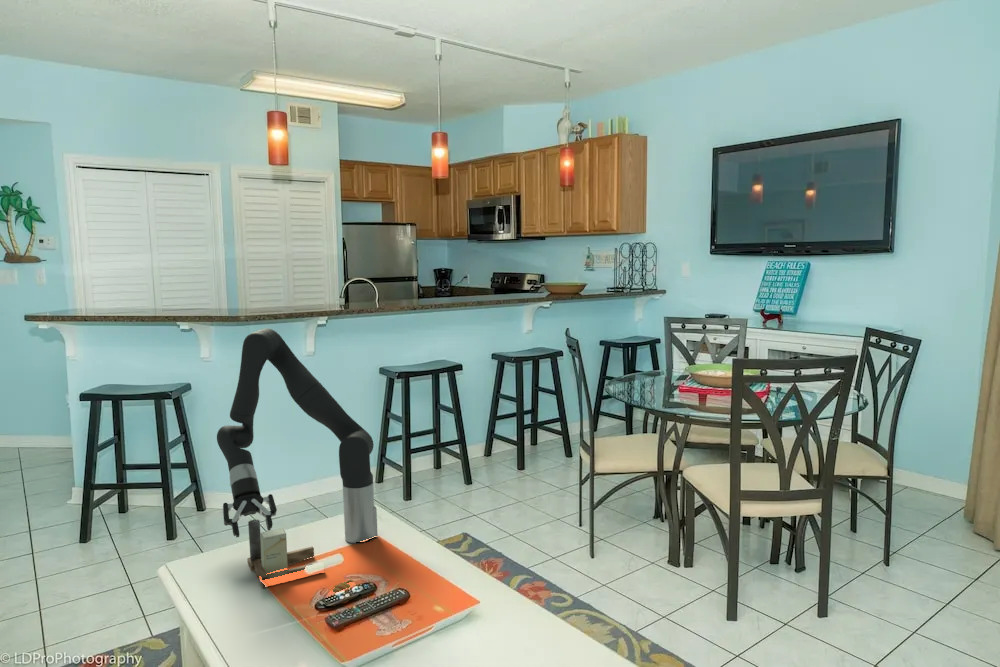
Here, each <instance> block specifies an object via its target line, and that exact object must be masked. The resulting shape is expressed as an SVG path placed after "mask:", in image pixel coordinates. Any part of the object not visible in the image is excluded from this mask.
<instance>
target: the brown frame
mask: <svg viewBox="0 0 1000 667" xmlns="http://www.w3.org/2000/svg"><path fill="white" fill-rule="evenodd" d="M247 524H248V540H249V541H248V542H249V557H247V565H248V567H249V569H250V571H251V572H255V575H256V577H257V576H261V577H262V580H265V579H270V578H274V577H278V576H282V575H285V574H289V573H293V572H297V571H301V570H304V569H305V567H306V565H307V564H305V565H300V566H297V567H294V568H293V567H292V568H288V570H284V571H280V572H275V573H271V574H267V575H266V573H265V571H264V569H263V567H262V561H261V539H260V533H261V521H260V520H259V519H251V520H249V521H248V522H247ZM313 556H314V557H315V547H314V546H308V547H305V548H300V549H296V550H292V551H287V565H290V564H295V563H298V562H297V561H299V562H301V561H300V560H304V559H307V558H310V557H313ZM304 561H305V560H304ZM294 562H295V563H294ZM259 582H260V581H259ZM260 584H261V587H262V589H267V588H266V587H265V585H264V584H263V583H262V582H260Z"/></svg>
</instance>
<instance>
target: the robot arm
mask: <svg viewBox="0 0 1000 667" xmlns="http://www.w3.org/2000/svg"><path fill="white" fill-rule="evenodd" d="M240 361H241V362H240V367H239V368H240V369H239V373H238V374H239V375H238V381H237V384H236V385H237V386H236V390H235V395H234V397H233V401H232V403H231V408H230V411H229V418H230V419H231V420H232V421H233V422H236V423H237V424H241V425H224V426H221V427H220V428H219V429H218V431H217V434H216V442H217V445H218V447H219V449H220V452H222V454H223V456H224V458H225V461H227V462H226V463H227V467H228V473H229V486H230V489H231V493H232V499H233V501H232V503H228V502H224V503H223V505H222V516H223V525H224V526H231V529H232V534H233V537H236V538H240V529H239V524H238V522H239V521H240V519H241V517H242V516H243V517H246V516H249V515H256V514H258V515H260V516H262V517H264V518H265V520H264V521H265V525H266V530H267V531H272V528H273V525H274V524H273V519H272V517H274V516H276V514H277V511H278V510H277V506H276V503H275V499H274V496H273V494H270V493H269V494H268V495H267V496H262V495H261V491H260V484H259V481H258V476H257V472H256V470H255V466H254V462H253V461H254V460H253V457H252V453H251V452H250V451H249V450H247V448H249V447H250V446H251V445H252V443H253V442H254V418H255V413H256V410H257V406H258V403H259V399H260V378H261V373H262V370H263V368H264V366H265V365H266V362H267V361H268V362H270V363H271V364H272V365H273V366H274V368H275V369H276V370H277V371H278V372H279V373H280V375H281V377H282V379H283V381H284V383H285V386H286V389H287V391H288V393H289V395H290V397H291V398H292V400H293V401H294V402H295V403H296V404H297V405H298V407H299V408H300V409H301V410H302V411H303V412H304V413H305V414H306V415H308V417H310V418H312V419H313V420H315V421H316V422H318V423H319V424H321V425H323V426H325V427H326V428H327V429H329V430H330V431H331V432H332V433H333V434H334V436H335V437H336V438H337V439H338V441H340V443H339V447H338V462H339V472H340V478H341V481H342V497H343V498H342V500H343V501H342V502H343V517H344V518H343V519H344V522H343V523H344V539H345V541H346V542H348V543H350V544H357V543H356V542H360V541H363V540H366V539H369V538H372V537H374V536H378V512H377V510H378V509H377V507H376V506H375V495H374V494H375V492H374V475H373V473H372V471H371V470H372V469H371V456H370V455H371V454H372V452H373V450H374V441H373V437H372V435H370V433H369V432H367V430H365V429H364V428H363V427H362V426H361V425H360V424H358V423H357V421H355V420H354V419H353V418H352V417H351V416H350V415H349V414H348V413H347V412H346V411H345V410H344V408H342V405H340V404H339V402H338V401H337V400H336V399H335V398H334V397H333V396H332V395H331V394H330V392H329V391H328V390H327V389H326V388H325V386H324V385H323V383H321V382H320V381H319V380H318V379H317V377H315V376H314V375H313V374H312V373H311V372H310V370H308V368H307V367H306V366H305V365H304V364H303V363H302V361H300V360H299V358H298V357H297V356H296V355H295V354H294V352H293V351H292V350H291V348H290V347H289V345H288V344H287V343H286V341H285V340H284V339H283V337H282V336H281V335H280V334H279V333H278V332H277V331H276V330H274V329H272V328H267V327H265V328H261V329H259V330H256V331H253V332H251V333H249V334H248V335H247V336H246V337H245V338H244V340H243V343H242V348H241V358H240ZM264 502H265V504H267V505H268V507H269V509H267V508H266V507H265V506H264V505H263V503H264ZM231 509H233V510H234V511H235V514H234V516H233V518H230V515H229V513H230V512H231ZM269 510H270V511H269Z"/></svg>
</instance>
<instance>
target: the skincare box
mask: <svg viewBox="0 0 1000 667" xmlns="http://www.w3.org/2000/svg"><path fill="white" fill-rule="evenodd" d="M260 539H261V561H262V567H263V569H264V571H265V573H266V574H267V573H270V572H273V571H276V570H280V569H284V568H287V567H289V566H288V565H289V564H287V552H288V544H287V542H288V541H287V532H286V530H285V529H284V528H277V529H271V530H269V531H268V530H267V531H264V532H260Z"/></svg>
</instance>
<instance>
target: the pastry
mask: <svg viewBox="0 0 1000 667" xmlns="http://www.w3.org/2000/svg"><path fill="white" fill-rule="evenodd" d="M353 581H354V580H353V579H349V580H348V581H347V582H345V581H343V582H344V583H343V582H341V583H338V584H339V585H338V584H335V585H334V586H333V587H335V588H334V589H333V592H335V593H336V592H339V591H341V590H343V589H346V588H349V587H350V585H349V584H347V583H349V582H353Z"/></svg>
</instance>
